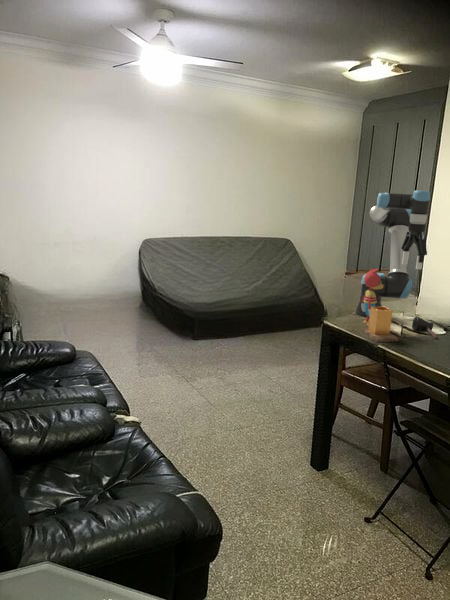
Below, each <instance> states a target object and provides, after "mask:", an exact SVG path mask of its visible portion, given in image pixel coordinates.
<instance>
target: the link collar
mask: <svg viewBox="0 0 450 600" xmlns="http://www.w3.org/2000/svg"><path fill="white" fill-rule="evenodd" d="M392 318H393V310H392V309H391V308H388V307H387V306H382V307H373V306H371V312H370V319H369V327H367V328H368V330H369V331H370V332H372V333H373V334H374V335H389V333H391V325H392Z"/></svg>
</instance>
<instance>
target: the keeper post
mask: <svg viewBox="0 0 450 600" xmlns="http://www.w3.org/2000/svg"><path fill="white" fill-rule="evenodd" d="M368 328H369V327H367V328H365V327H364V328H362V332H363V333H364V334H366V335H367V336H368V337H369V338H370V339H372V340H374V341H375V342H376V343H378V342H380V343H381V342H383V343H386V342H387V343H391V341H392V343H394V342H393V341H396V342H397V341H400V338H398V337H397V336H396V335H394V334H393V333H391V332H390V333H389V335H374V334H373V333H372V332H370V331H369V330H368ZM396 342H395V343H396ZM397 343H398V342H397Z"/></svg>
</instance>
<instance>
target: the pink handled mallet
mask: <svg viewBox="0 0 450 600" xmlns="http://www.w3.org/2000/svg"><path fill="white" fill-rule="evenodd" d="M433 328H434V323H433V322H432V321H431V322H429V321H427V319H423V318H422V317H420V316H418V315H417V316H414V317H413V320H412V323H411V330H412V329H413V330H412V331H413V332H415V331H416V332H417V331H418V332H419V331H420V330H421V331H427V332H429V333H430V335H431V338H432V340H433V339H434V340H438V339H439V337H438V335H436V333H435V332H433ZM421 331H420V332H421Z"/></svg>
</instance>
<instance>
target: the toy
mask: <svg viewBox="0 0 450 600" xmlns="http://www.w3.org/2000/svg"><path fill="white" fill-rule="evenodd" d="M377 271H379V268H378V267H377V268H375V269H374V268H371V269H369V271H368V272H366V273H365V274H366V275H365V274H364V275H365V277H364V282H365V284H366V286H368V287H370V288H369V290H367V291H366V292H365V295H364V297H363V299H362V305H361V308H362V311H363V312H366V315H367V317H365V318H366V319H365V320H363V324H365V325H366V326H367V328H369V320H370V312H371V306H373V307H375V303H377V300H376V295H375V293H374V292H373V291H372V290H371V289H374V290H378V289H382V288H383V286H384V285H383V284H381V283H382V281H381V280H382V277H381V278H380V276H379V275H378V274H377V273H378V272H377ZM364 302H365V303H364Z"/></svg>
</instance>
